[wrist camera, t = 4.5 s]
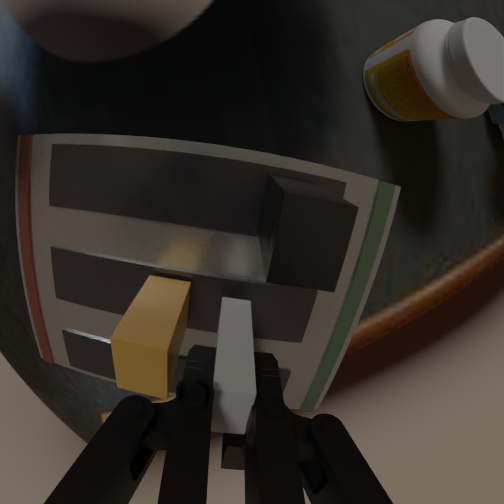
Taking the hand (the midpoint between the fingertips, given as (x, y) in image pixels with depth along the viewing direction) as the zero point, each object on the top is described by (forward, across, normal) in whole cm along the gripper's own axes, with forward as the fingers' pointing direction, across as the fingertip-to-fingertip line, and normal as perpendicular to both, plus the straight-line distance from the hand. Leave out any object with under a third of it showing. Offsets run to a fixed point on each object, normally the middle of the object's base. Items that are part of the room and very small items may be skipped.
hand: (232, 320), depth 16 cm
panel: (+5, -4, 0) cm, 6 cm away
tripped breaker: (+1, -4, 0) cm, 4 cm away
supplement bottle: (+5, +8, +16) cm, 18 cm away
